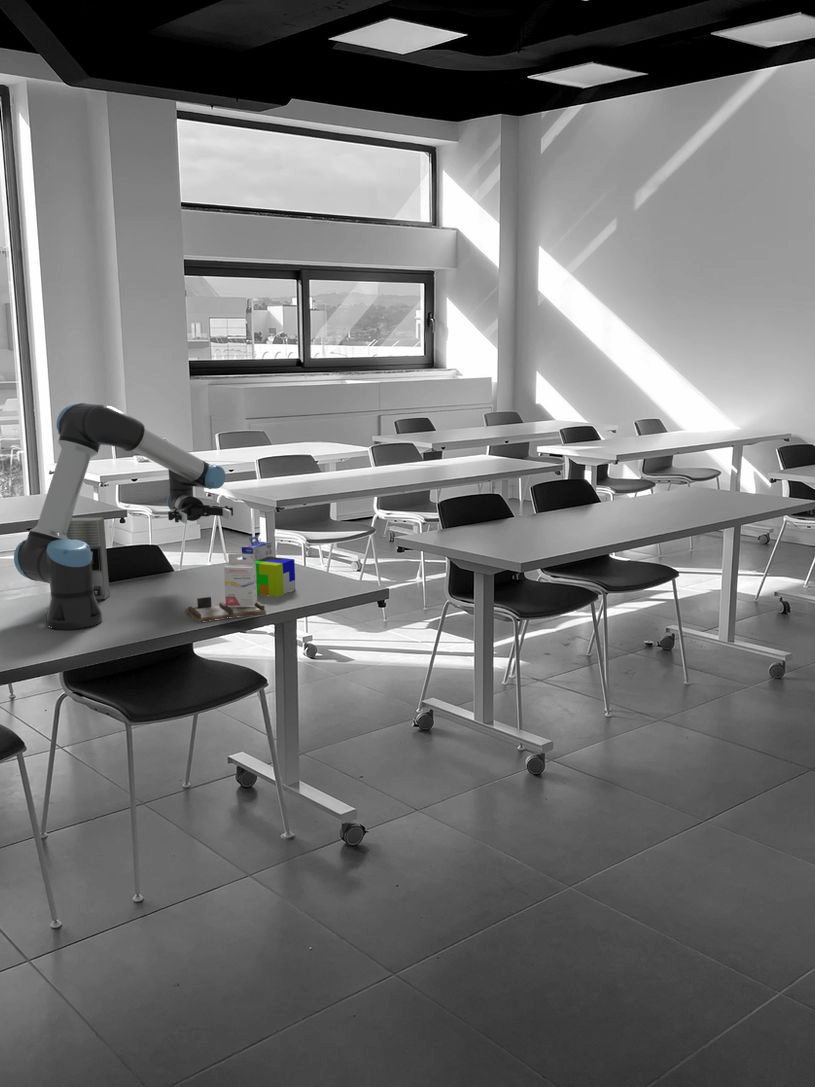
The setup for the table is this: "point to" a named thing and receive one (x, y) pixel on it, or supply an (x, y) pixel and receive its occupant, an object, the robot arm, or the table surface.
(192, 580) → the table surface
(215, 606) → the tag dock board
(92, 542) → the tall grey box
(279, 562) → the puzzle toy
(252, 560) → the ink cartridge box
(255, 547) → the ink cartridge box
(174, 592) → the table surface
